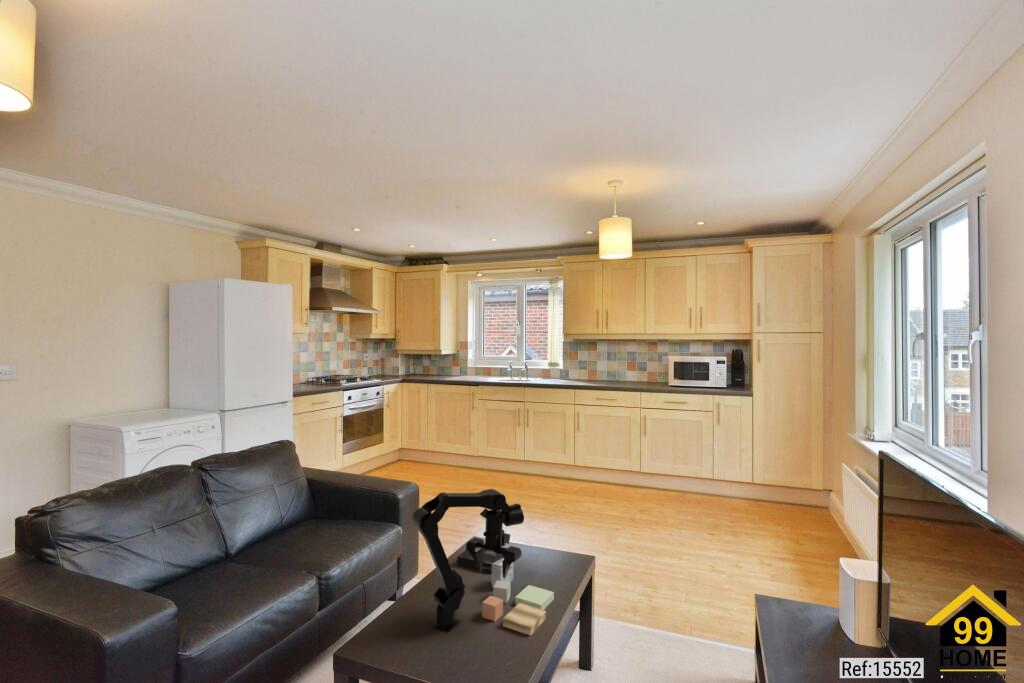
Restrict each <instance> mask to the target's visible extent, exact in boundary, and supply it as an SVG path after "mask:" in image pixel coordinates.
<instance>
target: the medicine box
mask: <svg viewBox="0 0 1024 683" xmlns="http://www.w3.org/2000/svg"><path fill="white" fill-rule="evenodd" d="M503 560H504V558H502V559H500V560H498V561H496V562H494V563H492V573H491V587H493V586H494V585H495V583H496V581H497V580H498V581H505V582H511V584H512V583H513V582H514V564H515V562H512V563H511V565H510V568H509V570H508V573H507V575H506V578H503V563H502V561H503Z"/></svg>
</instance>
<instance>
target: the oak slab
mask: <svg viewBox="0 0 1024 683" xmlns="http://www.w3.org/2000/svg"><path fill="white" fill-rule="evenodd" d="M546 619H547V611H546V609H544V610H541V609H538V608H535V607H532V606H528V605H525V604H522V603H519V604H518V605H515V606H514V607H513V608H512V609H511V610H510V611H508V613H507V614H505V616H504V617H502V627H503V628H507V629H510V630H513V631H516V632H519V633H522V634H524V635H528V636H532V635H533V634H534V633H535V632H536V630H538V628H539V627H540V626H541V625H542V623H543V622H545V620H546Z"/></svg>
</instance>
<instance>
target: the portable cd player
mask: <svg viewBox="0 0 1024 683" xmlns="http://www.w3.org/2000/svg"><path fill="white" fill-rule="evenodd" d="M484 544H485V542H484ZM502 548H505V549H507V548H508V547H505V546H502ZM502 558H503V554H499V553H495V552H491V551H487V550H484V551H483V567H482V571H481V572H484V573H489V574H492V563H494V562H496V561H498V560H500V559H502ZM456 559H457V560H456V561H457V562H456V563H457V564H456V566H459V567H462V568H467V569H471V570H476V571H479V569H478V567H477V565H476V563H475V561H474V559H473V557H472V555H471V554H469V551H466V549H465V550H464V551H463V552H461V553H460V554H459V555H457V556H456Z"/></svg>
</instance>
